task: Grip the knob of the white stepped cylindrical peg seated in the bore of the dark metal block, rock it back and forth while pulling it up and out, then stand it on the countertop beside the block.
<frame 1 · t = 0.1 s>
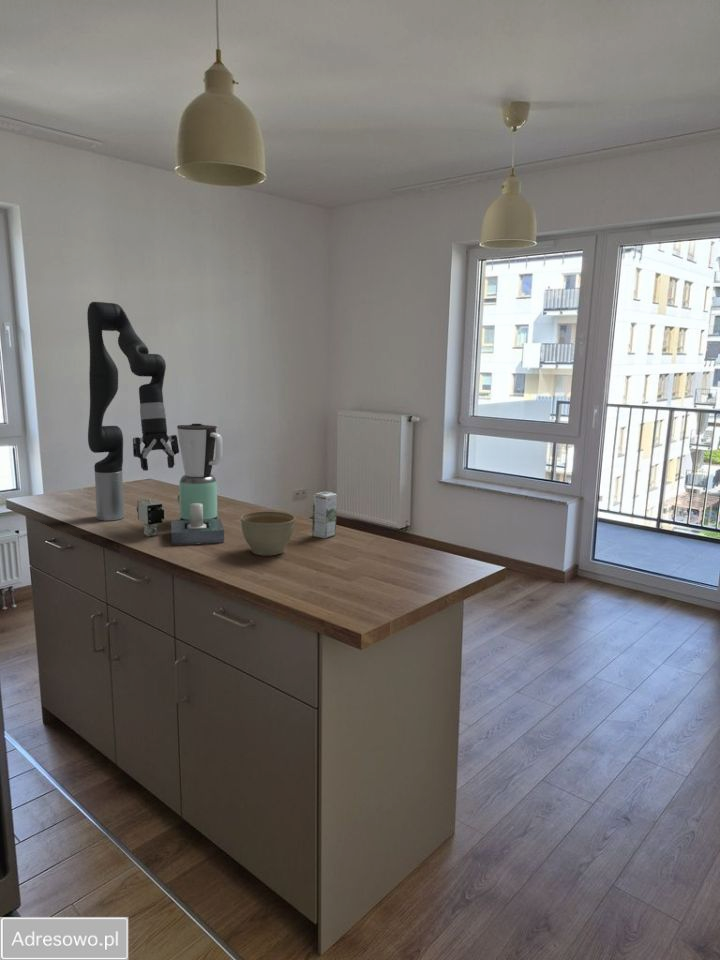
hand: (158, 469, 203), 22 cm above the table, tool pointing down, fingers open, 8 cm apart
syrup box: (324, 536, 215), on the table
planter bowl: (268, 552, 194), on the table
bore block: (197, 537, 209), on the table
mint green blender: (200, 522, 229), on the table
pneumatic valve: (152, 535, 210), on the table
white stepped cylindrical peg: (196, 521, 208), in the bore block
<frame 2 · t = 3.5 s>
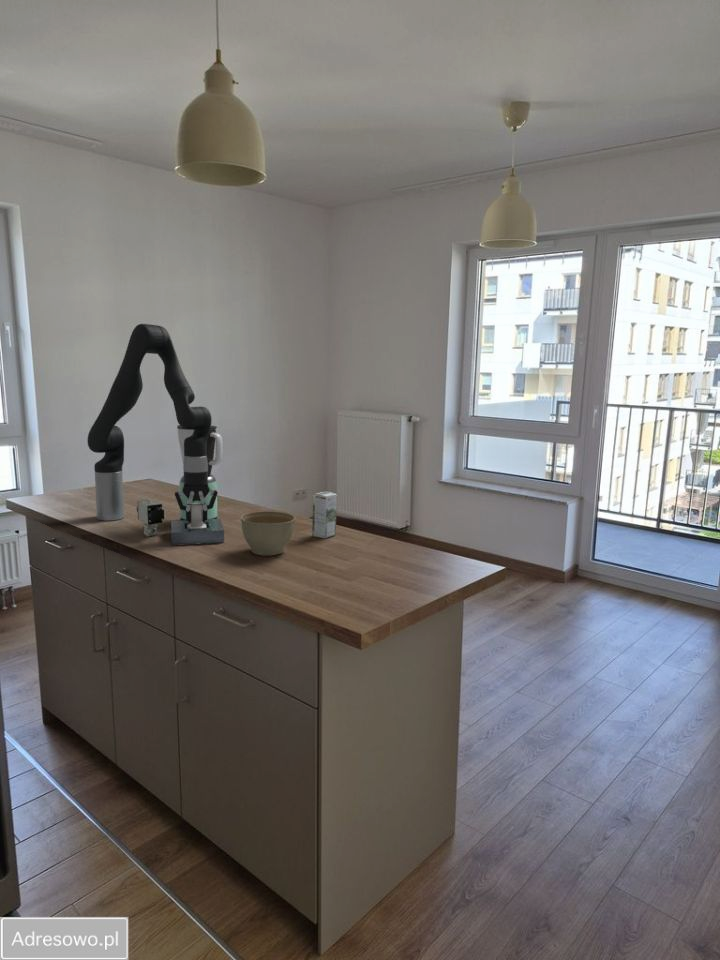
hand: (196, 521, 208), 5 cm above the table, tool pointing down, fingers closed on white stepped cylindrical peg, 4 cm apart
white stepped cylindrical peg: (196, 520, 208), in the bore block, touching gripper
everything else where it was.
when the fingers open (7 cm above the table, at t = 10.8 s): white stepped cylindrical peg drops 1 cm, on the table.
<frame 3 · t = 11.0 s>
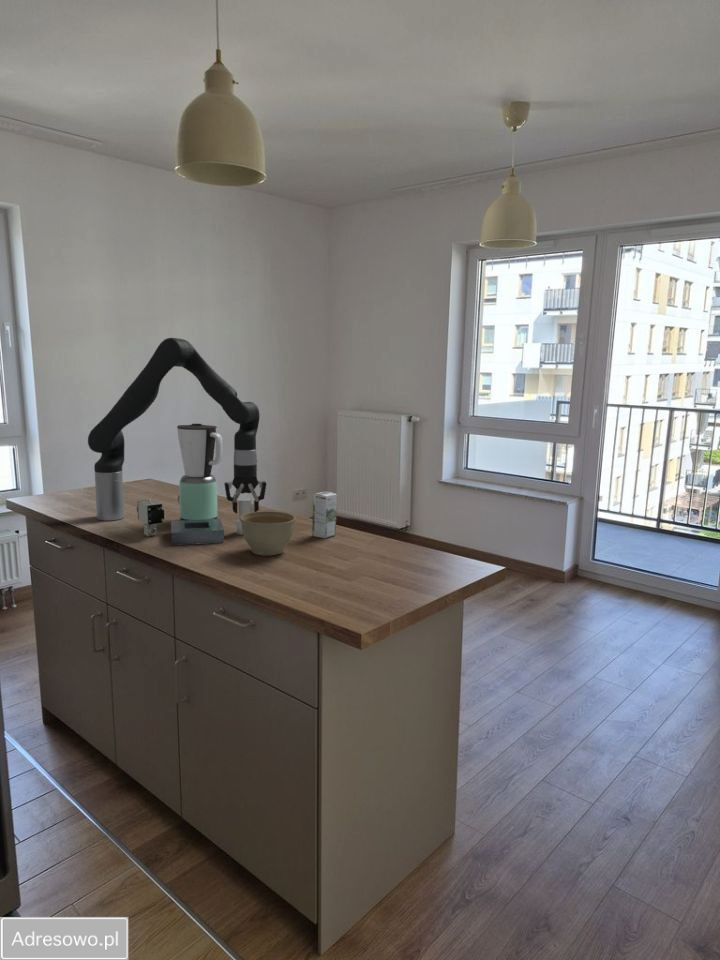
hand: (245, 512, 215), 7 cm above the table, tool pointing down, fingers open, 6 cm apart
white stepped cylindrical peg: (245, 516, 215), on the table
everything else where it was.
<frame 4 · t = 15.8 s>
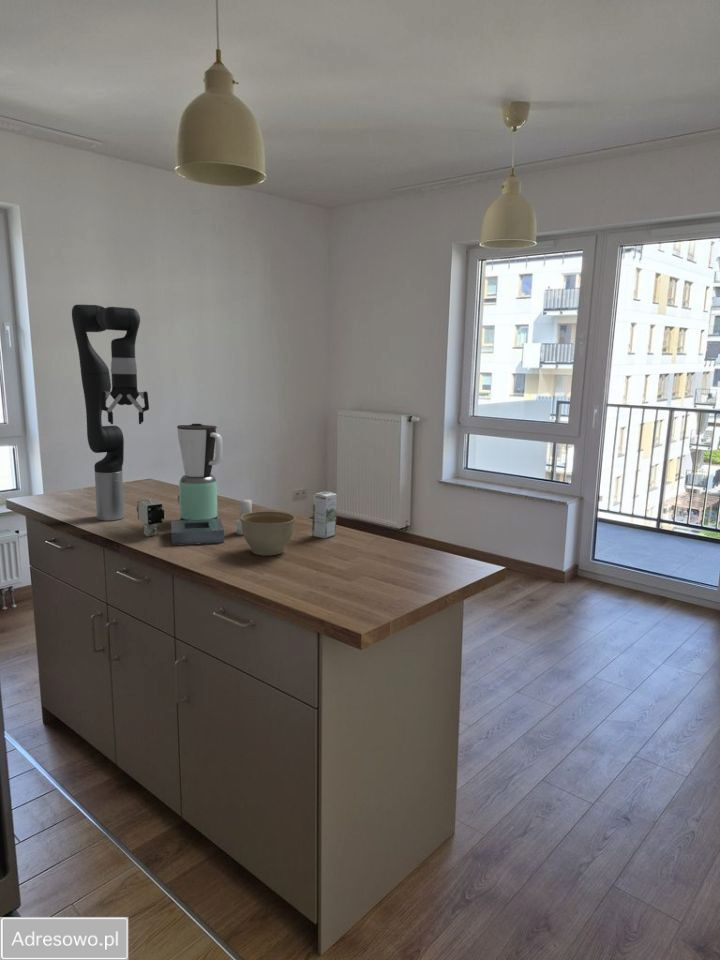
hand: (126, 424, 205), 36 cm above the table, tool pointing down, fingers open, 8 cm apart
nothing on the table moved.
at the end: white stepped cylindrical peg inside the target area (0.1 cm from its centre), on the table; white stepped cylindrical peg tilted 1°; the gripper is holding nothing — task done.
